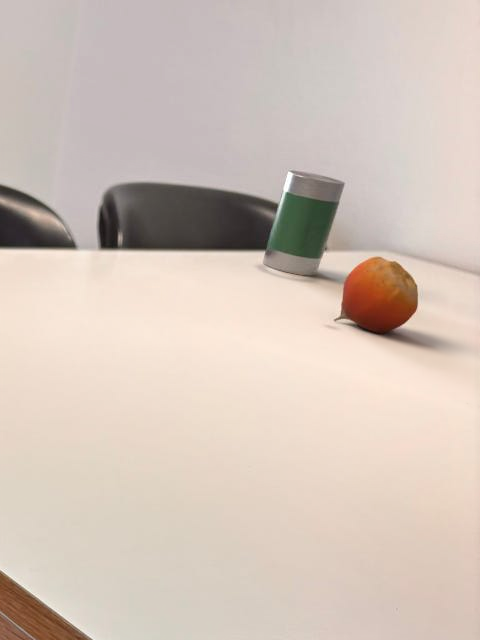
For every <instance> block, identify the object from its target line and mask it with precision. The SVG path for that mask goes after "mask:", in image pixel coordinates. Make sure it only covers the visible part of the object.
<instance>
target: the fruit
mask: <svg viewBox="0 0 480 640" xmlns="http://www.w3.org/2000/svg"><path fill="white" fill-rule="evenodd" d="M340 306H341V307H340V308H341V309H340V314H339V316H338V317H335V318H334V319H333V322H336V321H339V320H349V321H351V322H352V323H353V322H354V323H355V324H356V325H358V326H360V327H361V328H363V329H365V330H368V331H370V332H373V333H375V334H385V333H390V332H392V331H394V330H395V329H397V328H400V327H402V326H403V325H405V324H406V323H407V322H408V321H409V320H410V319H411V318H412V317H413V316H414V314H415V313H416V312H417V310H418V307H419V292H418V284H417V283H416V281H415V280H414V277H413V276H412V275H411V274H410V273H409V272H408V271H407V270H406V269H405V268H404V267H403V266H402V265H401V264H400V263H399V262H397V261H396V260H388V259H385V258H384V257H381V256H373V257H369V258H368V259H366V260H363V261H362V262H360V263H359V264H357V265H356V266H355V267H354V268H353V269H352V270H351V271H350V273H349V274H348V275H347V276H346V278H345V279H344V282H343V288H342V300H341V305H340Z"/></svg>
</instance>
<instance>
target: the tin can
mask: <svg viewBox="0 0 480 640" xmlns="http://www.w3.org/2000/svg"><path fill="white" fill-rule="evenodd" d="M345 185H346V182H344V181H342V180H340V179H336V178H333V177H329V176H325V175H320V174H316V173H311V172H306V171H301V170H288V171H287V175H286V179H285V183H284V186H283V189H282V191H281V194H280V198H279V201H278V205H277V209H276V212H275V215H274V220H273V222H272V226H271V230H270V233H269V237H268V240H267V244H266V250H265V252H264V256H263V259H262V264H264V266H267V267H269V268H272V269H274V270H278V271H281V272H284V273H288V274H292V275H297V276H309V277H311V276H316V275H317V274H318V271H319V267H320V264H321V261H322V258H323V256H324V253H325V250H326V247H327V244H328V240H329V238H330V235H331V231H332V228H333V225H334V222H335V219H336V215H337V212H338V209H339V206H340V200H341V198H342V195H343V191H344V188H345Z"/></svg>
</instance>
